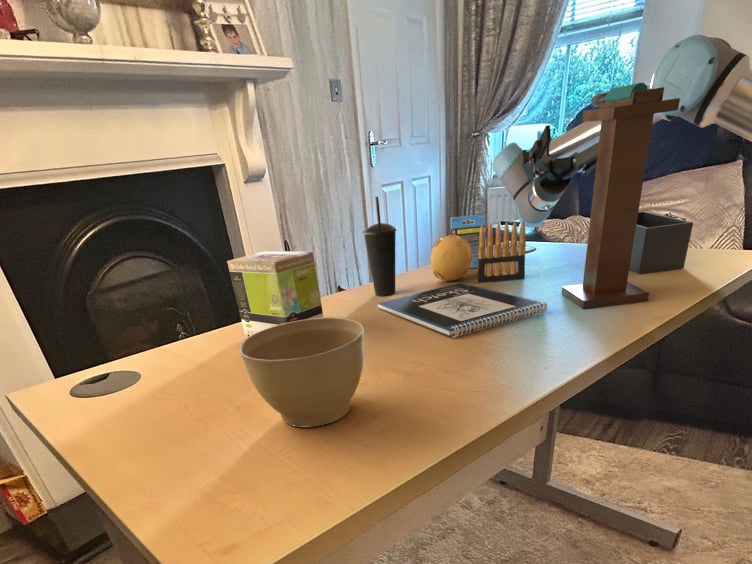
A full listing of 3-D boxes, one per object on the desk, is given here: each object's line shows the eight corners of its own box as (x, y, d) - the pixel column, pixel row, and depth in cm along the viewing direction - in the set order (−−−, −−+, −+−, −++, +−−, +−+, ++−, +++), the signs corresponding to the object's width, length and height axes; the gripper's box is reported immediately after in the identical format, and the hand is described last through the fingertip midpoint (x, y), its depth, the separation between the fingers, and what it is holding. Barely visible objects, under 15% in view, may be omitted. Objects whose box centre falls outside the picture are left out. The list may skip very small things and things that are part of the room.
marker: (587, 111, 98) (587, 93, 96) (601, 108, 97) (602, 90, 96) (629, 105, 83) (631, 84, 81) (646, 101, 83) (648, 80, 81)
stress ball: (425, 280, 132) (423, 235, 126) (462, 273, 133) (462, 229, 128) (439, 287, 124) (438, 240, 118) (478, 280, 125) (478, 233, 120)
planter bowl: (274, 394, 81) (257, 323, 75) (377, 387, 79) (369, 312, 73) (244, 444, 69) (221, 363, 62) (366, 437, 66) (355, 352, 60)
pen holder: (599, 256, 131) (604, 216, 126) (638, 251, 131) (644, 211, 126) (638, 274, 114) (646, 228, 109) (683, 268, 113) (693, 222, 108)
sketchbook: (460, 288, 122) (460, 279, 121) (549, 313, 99) (550, 302, 98) (377, 308, 116) (376, 298, 114) (452, 339, 93) (452, 328, 91)
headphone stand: (560, 293, 108) (578, 100, 90) (619, 286, 108) (648, 90, 90) (583, 310, 98) (609, 95, 80) (649, 301, 97) (689, 83, 79)
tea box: (327, 330, 106) (314, 250, 98) (290, 346, 101) (273, 262, 92) (280, 322, 115) (264, 248, 107) (243, 336, 110) (224, 259, 101)
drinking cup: (397, 287, 129) (390, 193, 118) (404, 294, 123) (397, 195, 111) (367, 292, 129) (356, 198, 117) (372, 299, 122) (362, 200, 111)
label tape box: (485, 264, 139) (486, 211, 132) (485, 268, 135) (486, 213, 128) (452, 267, 141) (450, 215, 133) (451, 270, 137) (449, 217, 130)
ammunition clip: (524, 277, 123) (527, 219, 116) (524, 279, 122) (527, 220, 115) (477, 280, 125) (477, 224, 119) (477, 282, 124) (477, 225, 117)
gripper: (604, 194, 124) (649, 138, 102) (498, 208, 125) (521, 156, 104) (601, 160, 123) (647, 98, 102) (495, 175, 124) (517, 116, 103)
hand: (583, 127), depth 103 cm, fingers open, 13 cm apart
